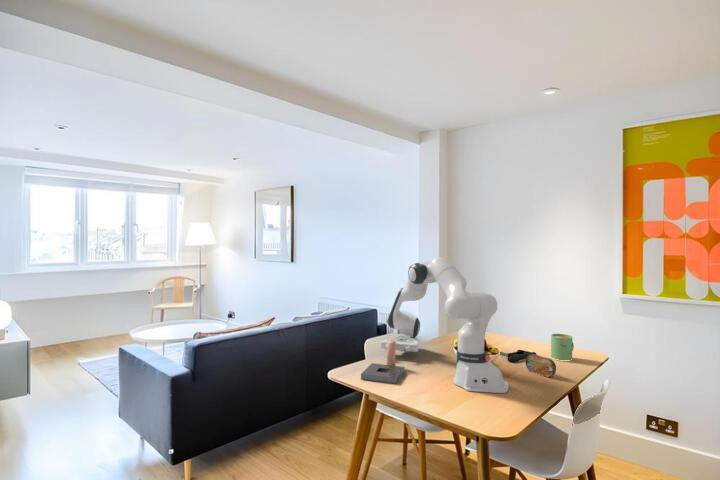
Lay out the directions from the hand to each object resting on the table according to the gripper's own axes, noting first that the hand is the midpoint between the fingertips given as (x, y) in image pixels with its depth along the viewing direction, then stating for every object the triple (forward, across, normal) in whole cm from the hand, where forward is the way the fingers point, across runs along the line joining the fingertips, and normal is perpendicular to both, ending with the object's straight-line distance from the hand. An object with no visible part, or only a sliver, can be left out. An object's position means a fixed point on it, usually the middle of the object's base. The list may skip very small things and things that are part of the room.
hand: (396, 349), depth 201 cm
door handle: (-31, +57, +7) cm, 65 cm away
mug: (-38, +82, +7) cm, 90 cm away
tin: (-6, +68, +7) cm, 68 cm away
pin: (+9, 0, +6) cm, 11 cm away
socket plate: (+23, 0, +6) cm, 23 cm away
